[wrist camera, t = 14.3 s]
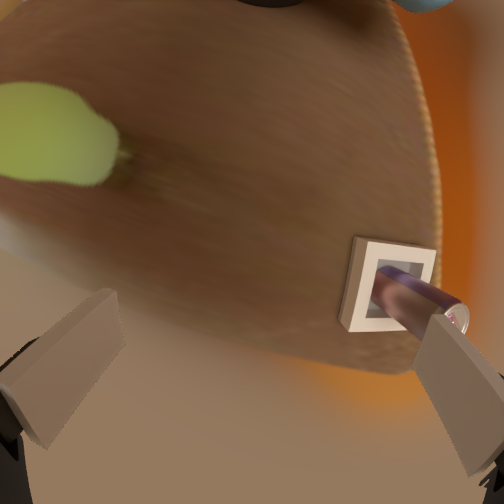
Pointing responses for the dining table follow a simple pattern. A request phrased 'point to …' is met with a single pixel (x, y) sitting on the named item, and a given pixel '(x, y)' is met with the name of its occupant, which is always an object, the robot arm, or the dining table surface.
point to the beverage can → (415, 301)
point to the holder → (363, 274)
